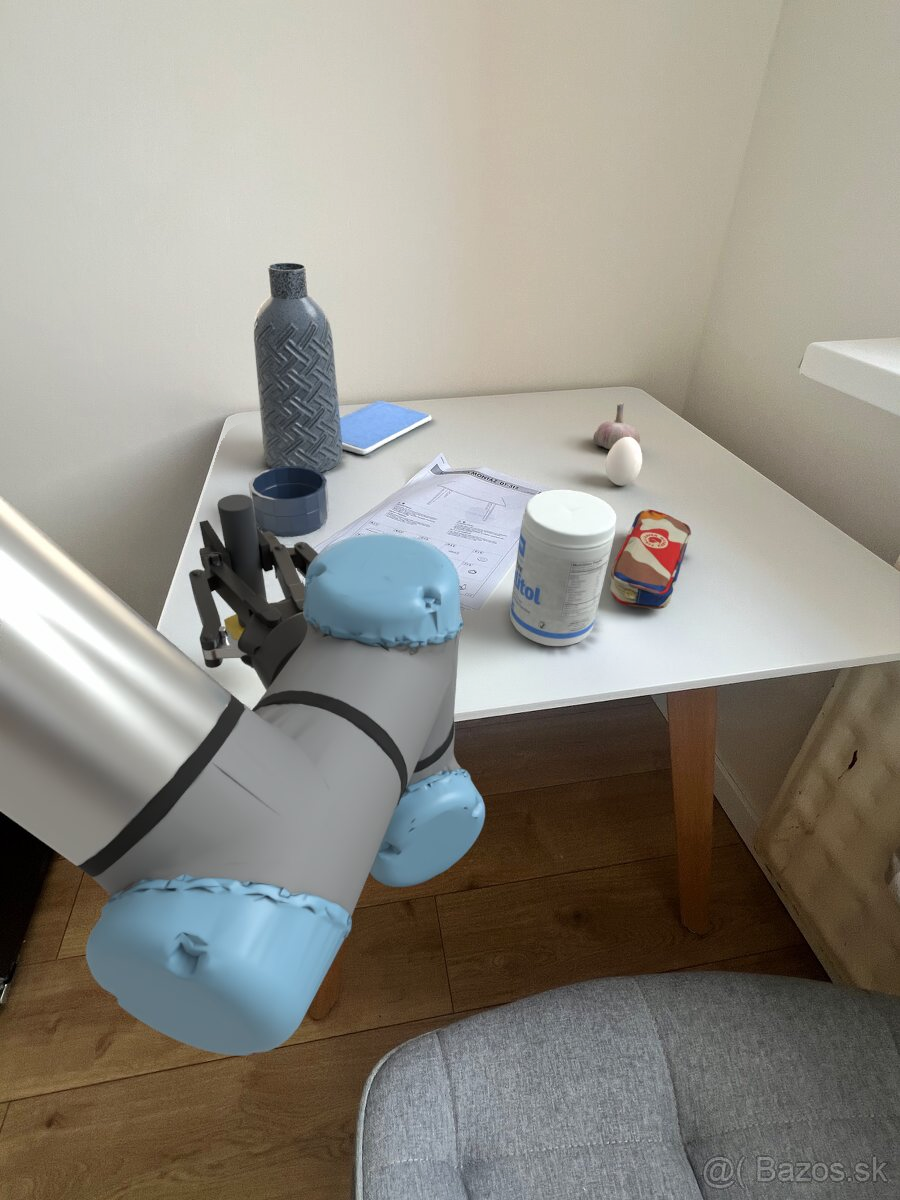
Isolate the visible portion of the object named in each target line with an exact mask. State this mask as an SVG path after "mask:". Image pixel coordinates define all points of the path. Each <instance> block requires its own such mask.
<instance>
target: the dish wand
mask: <svg viewBox="0 0 900 1200" xmlns="http://www.w3.org/2000/svg"><path fill="white" fill-rule="evenodd" d="M217 509H218V511H217V512H218V516H219V522H220V526H221V533H222V539H223V543H224V544H223V545H224V547H225V549H226V550H227V551H228V553H229V556H230V561H231V566H232V571H233V572H234V573H235V574H236V575H237V576H238V577H239V578H240V579H241V580H242V581H243V582H244V583H245V584H246V585H247V586H248V587H249V588H250V589H251V590H252V591H253V592H254V593H255V594H256V595H257V594H260V595H261V596H262V597H263V598H264V599H265V600H266V601H267V602H268V598H267V591H266V585H265V578H264V577H265V576H264V570H263V568H262V563H261V556H260V549H259V542H258V535H257V528H256V526H257V523H256V521H255V514H254V508H253V501H252V499H251V497H250V496H248V495H245V494H230V495H226V496H223V497H222V498H220V499H219V500H218V502H217ZM223 620H224V621H223V623H224V627H226V629H227V631H228V632H230V633H231V634H232V637H233V638H234V639H236V640H239V638H240V636H241V634H242V632H243V630H244V628H245V626H246V624H245V623H244V622H243V621H242V620H241V618H240V617H239V616H238V615H237V614H236V613H235V614H233V615H231V616H228V617H226V618H224V619H223ZM250 668H251V669H253V668H252V667H250Z"/></svg>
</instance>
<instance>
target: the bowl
mask: <svg viewBox="0 0 900 1200" xmlns="http://www.w3.org/2000/svg"><path fill="white" fill-rule="evenodd" d="M248 488H249V495H250V496H249V497H250V498H251V499H252V501H253V508H254V514H255V521H256V526H257V527H258V529H259V530H262V531H263V532H267V531H270V532H272V533H273V534H274V535H275V536H278V537H299V536H303V535H304V536H305V535H308V534H310V533H313V532H315V531H318V530H320V529H321V528H322V527H323V526H324V525H325V524H326V522H327V520H328V516H329V513H330V505H329V504H330V503H329V489H328V480H327V478H326V476H325V475H324V473H323V472H318V471H317V470H315V469H311V468H307V467H302V466H283V467H276V468H271V467H270V468H269V469H266V470H263V471H260V472H258V473H257V474H255V475H254V476H253V477H252V478H251V479H250V482H249V483H248Z"/></svg>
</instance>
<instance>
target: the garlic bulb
mask: <svg viewBox="0 0 900 1200" xmlns="http://www.w3.org/2000/svg"><path fill="white" fill-rule="evenodd" d="M616 406H617V407H616V417H615V420H611V421H604V422H602V423H601V424H600V425H599V426H597V429H596V431H595V432H594V434H593V436H592V437H593V443H594V444H595V445H596V446H598V447H603V448H605V449H607V450H609V451H610V450H611V448H612V446H613V445H614V444H615V443H616V442H617V441H618V440H620V439H621V438H624V437H631V438H633V439H634V440H636V441H637V443H638V444H639V445H640V441H641V437H640V434H639V433H638V431H637V429H636V428H635V427H634V426H633V425H629V424H628V423H626V422H624V402H623V401H620V402H618V403H617V405H616Z"/></svg>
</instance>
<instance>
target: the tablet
mask: <svg viewBox="0 0 900 1200" xmlns="http://www.w3.org/2000/svg"><path fill="white" fill-rule="evenodd" d="M432 419H433V418H432V415H430V414H427V413H425V412H421V411H419V410H416V409H415V410H414V409H411V408H409V407H404V406H401V405H398V404H395V403H391V402H387V401H384V400H376V401H374V402H372V403H370V404H367V405H366V406H364V407H361V408H359V409H357V410H355V411H352V412H350V413H348V414H346V415H343V416H340V426H341V436H342V450H344V451H348V452H350V453H354V454H358V455H363V456H364V455H368V454H370V453H371V452H373V451H374V450H377V449H378V448H379V447H383V445H386V444H387V443H389V442H391V441H393V440H395V439H397V438H398V437H401V436H402V435H404V434H406V433H408V432H410V431H412V430H413V429H416V428H417V427H420V426H422V425H424V424H426V423H428V422H429V421H432Z"/></svg>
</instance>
